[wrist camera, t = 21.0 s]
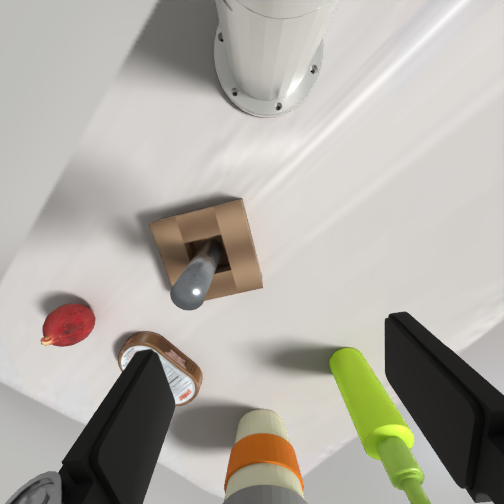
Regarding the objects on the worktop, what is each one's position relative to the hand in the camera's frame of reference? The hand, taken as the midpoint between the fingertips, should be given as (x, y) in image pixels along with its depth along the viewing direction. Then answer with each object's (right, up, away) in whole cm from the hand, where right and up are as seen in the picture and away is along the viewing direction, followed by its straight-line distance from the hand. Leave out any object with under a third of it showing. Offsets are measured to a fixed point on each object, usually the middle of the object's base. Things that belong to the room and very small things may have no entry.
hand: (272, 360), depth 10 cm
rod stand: (-7, +5, +25) cm, 26 cm away
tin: (-13, -13, +28) cm, 34 cm away
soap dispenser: (+16, -15, +31) cm, 37 cm away
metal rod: (-7, +5, +24) cm, 26 cm away
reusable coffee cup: (+1, -29, +35) cm, 45 cm away
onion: (-27, -5, +28) cm, 39 cm away
